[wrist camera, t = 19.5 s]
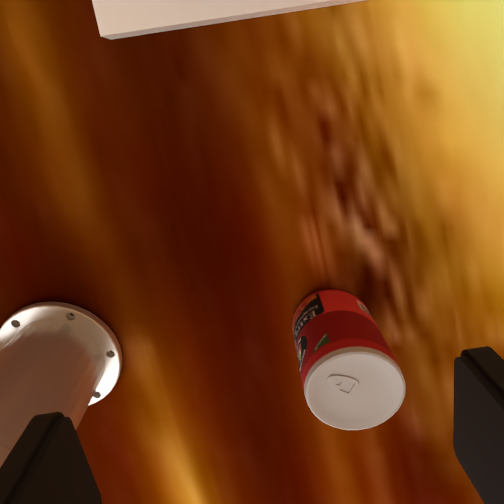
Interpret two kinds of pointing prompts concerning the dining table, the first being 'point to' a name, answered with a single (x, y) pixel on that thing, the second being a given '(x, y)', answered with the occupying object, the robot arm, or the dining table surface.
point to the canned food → (345, 362)
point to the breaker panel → (188, 13)
